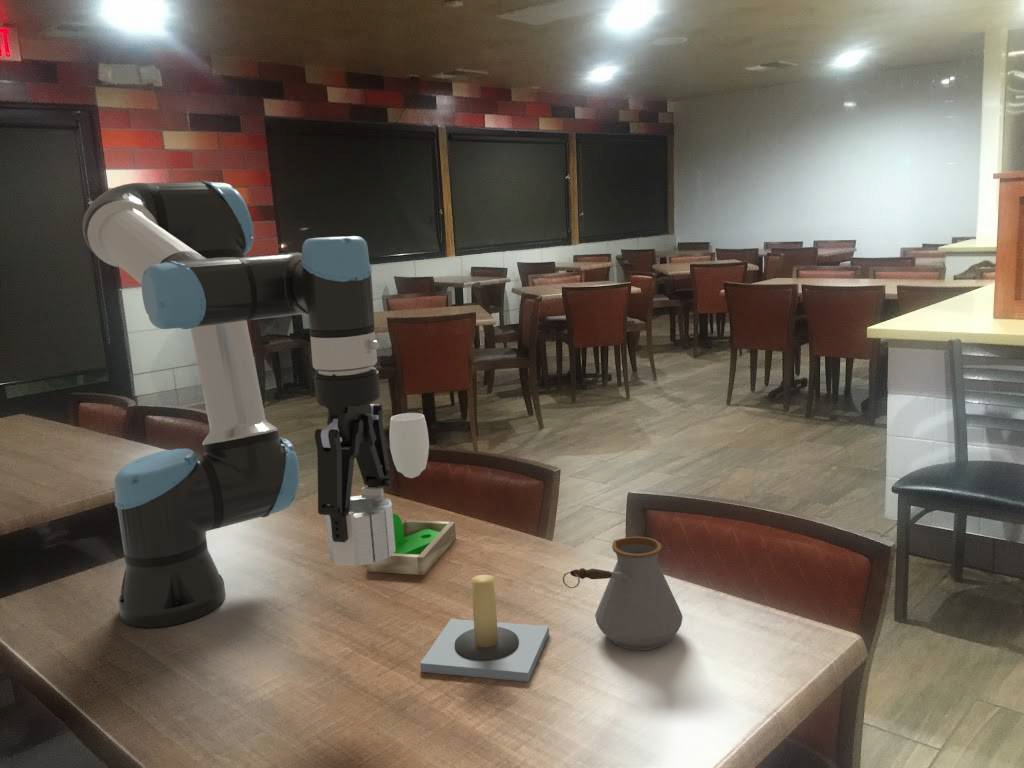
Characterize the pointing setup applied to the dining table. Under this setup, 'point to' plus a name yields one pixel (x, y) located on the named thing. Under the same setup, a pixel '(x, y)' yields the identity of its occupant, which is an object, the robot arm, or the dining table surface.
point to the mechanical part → (411, 539)
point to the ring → (369, 528)
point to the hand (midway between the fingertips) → (361, 549)
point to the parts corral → (428, 555)
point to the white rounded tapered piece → (409, 443)
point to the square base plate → (486, 642)
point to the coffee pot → (635, 597)
